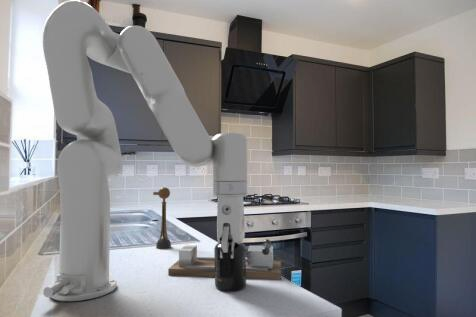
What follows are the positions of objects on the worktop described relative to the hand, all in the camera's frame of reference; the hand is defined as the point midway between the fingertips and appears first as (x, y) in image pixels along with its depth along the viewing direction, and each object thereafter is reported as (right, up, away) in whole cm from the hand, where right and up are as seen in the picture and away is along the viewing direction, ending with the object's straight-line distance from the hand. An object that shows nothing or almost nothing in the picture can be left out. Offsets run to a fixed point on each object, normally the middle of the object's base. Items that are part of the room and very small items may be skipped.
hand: (230, 271), depth 70 cm
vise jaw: (+7, -2, +10) cm, 13 cm away
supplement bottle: (0, -4, 0) cm, 4 cm away
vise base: (-2, -4, +11) cm, 12 cm away
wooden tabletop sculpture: (-24, -5, +37) cm, 44 cm away
